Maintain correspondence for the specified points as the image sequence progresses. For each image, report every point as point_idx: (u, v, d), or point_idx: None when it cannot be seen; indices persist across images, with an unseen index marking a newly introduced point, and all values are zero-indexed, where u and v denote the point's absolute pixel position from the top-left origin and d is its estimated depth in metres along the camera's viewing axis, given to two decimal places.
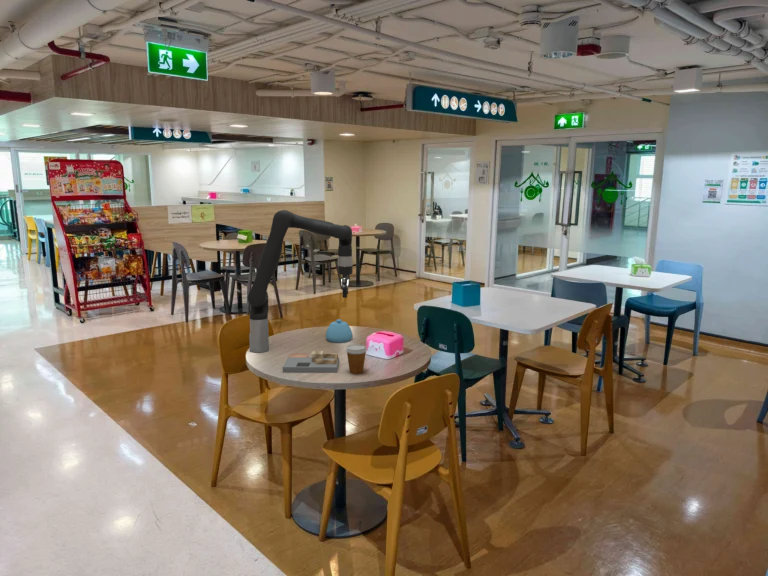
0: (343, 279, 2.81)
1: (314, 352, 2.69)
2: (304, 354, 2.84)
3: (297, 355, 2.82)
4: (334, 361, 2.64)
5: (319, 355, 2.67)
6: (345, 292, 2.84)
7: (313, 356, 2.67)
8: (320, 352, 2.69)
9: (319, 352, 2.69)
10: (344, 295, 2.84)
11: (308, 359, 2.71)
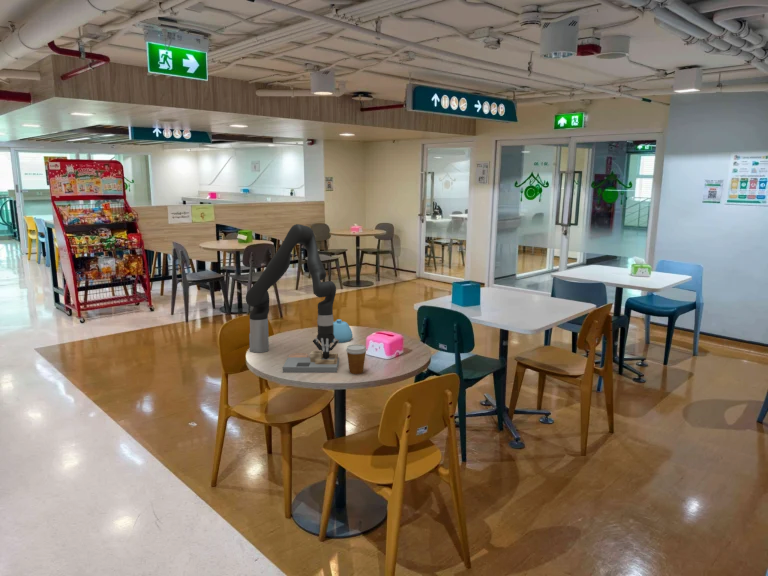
0: None
1: (313, 352, 2.69)
2: (304, 354, 2.84)
3: (297, 355, 2.82)
4: (334, 361, 2.64)
5: (318, 355, 2.67)
6: None
7: (312, 356, 2.67)
8: (319, 352, 2.69)
9: (318, 352, 2.69)
10: None
11: (308, 359, 2.71)
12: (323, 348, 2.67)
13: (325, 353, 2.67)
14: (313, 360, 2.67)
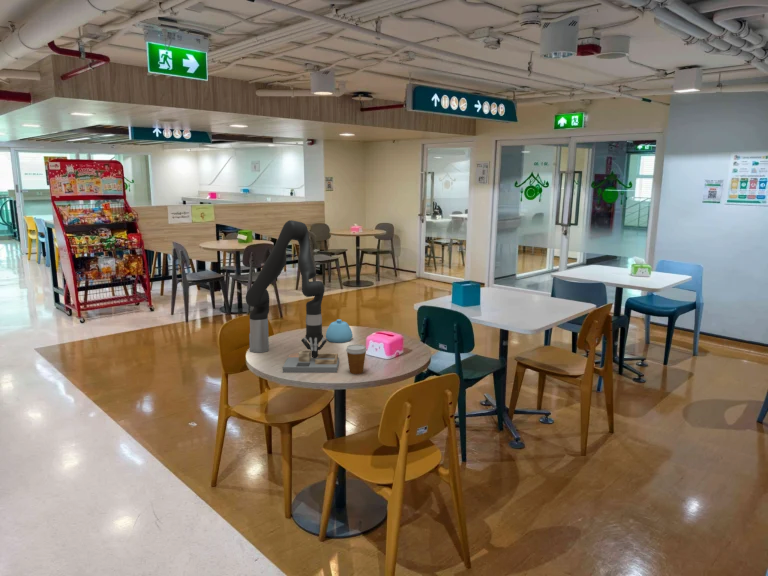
0: None
1: (301, 351, 2.70)
2: None
3: (297, 355, 2.82)
4: (334, 361, 2.64)
5: (306, 354, 2.67)
6: None
7: (300, 355, 2.67)
8: (307, 352, 2.70)
9: (306, 352, 2.70)
10: (312, 355, 2.70)
11: None
12: (311, 347, 2.68)
13: (313, 352, 2.68)
14: (301, 359, 2.68)
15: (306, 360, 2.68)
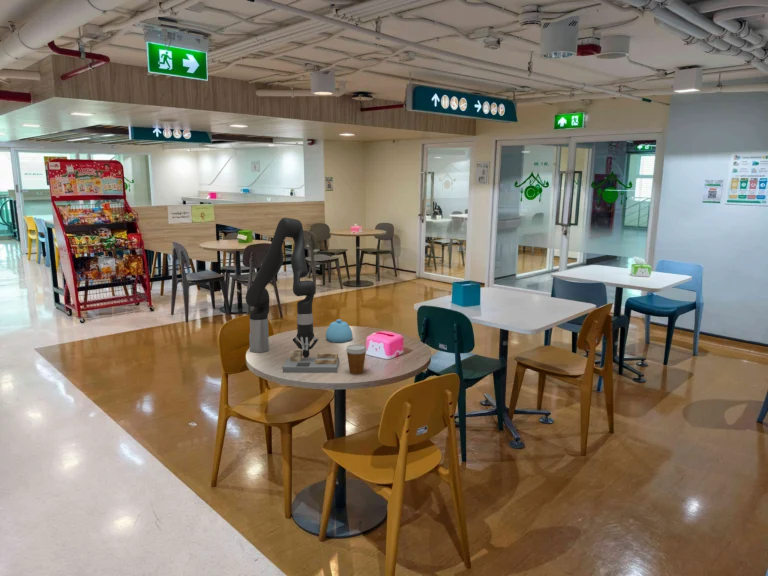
0: None
1: (293, 351, 2.70)
2: None
3: None
4: (334, 361, 2.64)
5: (297, 354, 2.67)
6: None
7: (291, 355, 2.68)
8: (299, 351, 2.70)
9: (298, 351, 2.70)
10: None
11: (308, 359, 2.71)
12: (303, 347, 2.68)
13: (305, 352, 2.69)
14: (292, 359, 2.68)
15: (298, 360, 2.68)
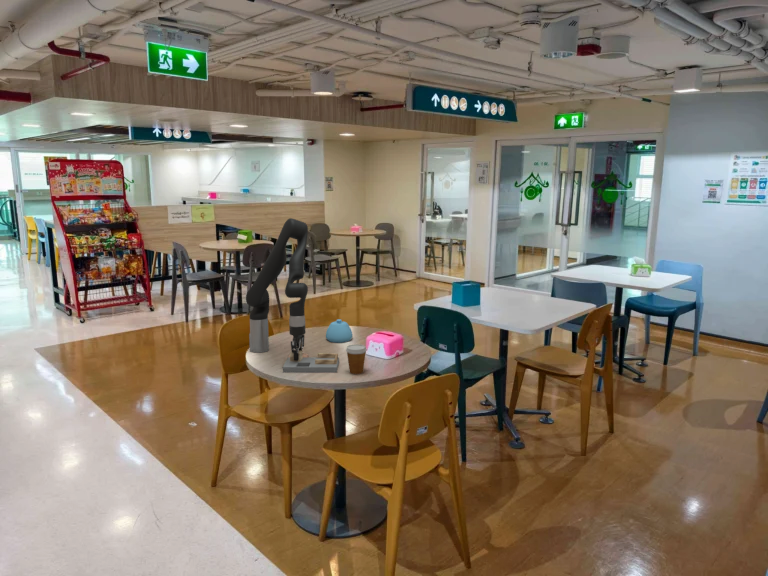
0: None
1: None
2: (304, 354, 2.84)
3: None
4: (334, 361, 2.64)
5: None
6: None
7: (291, 355, 2.68)
8: (299, 351, 2.70)
9: None
10: None
11: (308, 359, 2.71)
12: None
13: None
14: (292, 359, 2.68)
15: (298, 360, 2.68)
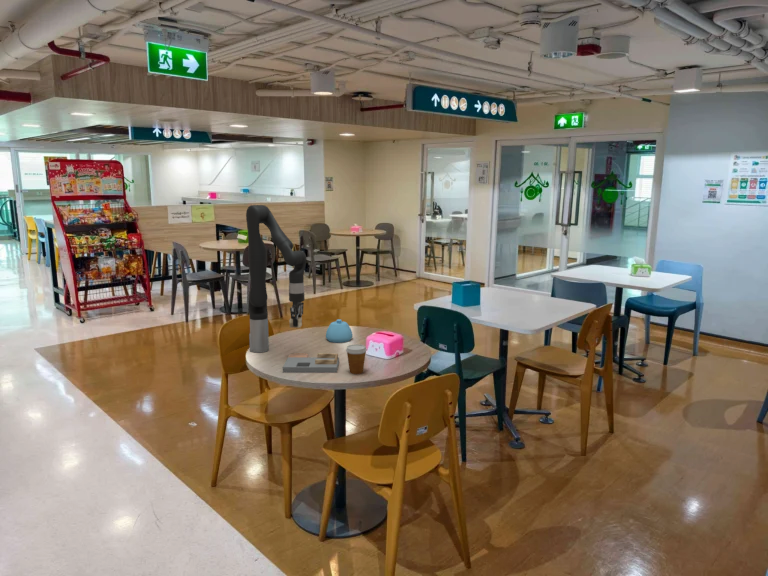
0: None
1: None
2: (304, 354, 2.84)
3: (297, 355, 2.82)
4: (334, 361, 2.64)
5: None
6: None
7: (291, 321, 2.76)
8: (298, 318, 2.78)
9: None
10: None
11: (308, 359, 2.71)
12: None
13: None
14: (292, 325, 2.76)
15: (297, 326, 2.76)
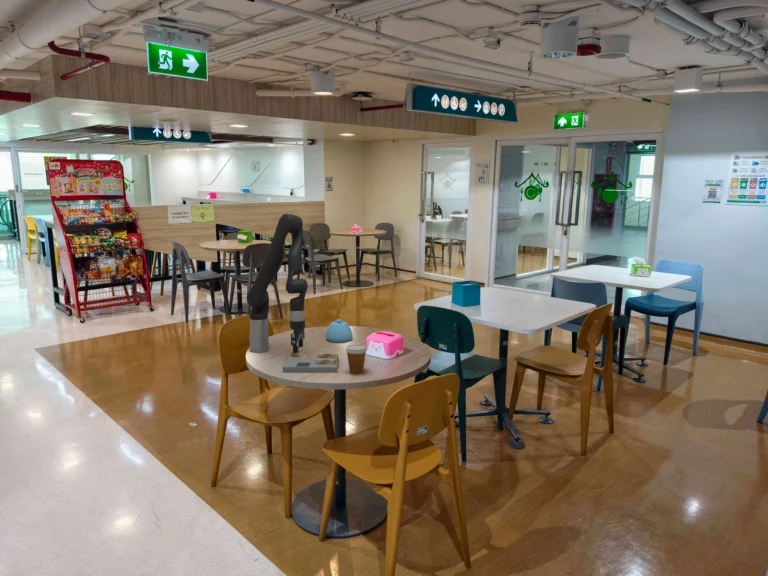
0: None
1: None
2: (304, 354, 2.84)
3: None
4: (334, 361, 2.64)
5: None
6: None
7: (292, 351, 2.79)
8: (299, 347, 2.81)
9: (298, 347, 2.81)
10: None
11: (308, 359, 2.71)
12: None
13: None
14: (293, 355, 2.79)
15: (298, 356, 2.79)
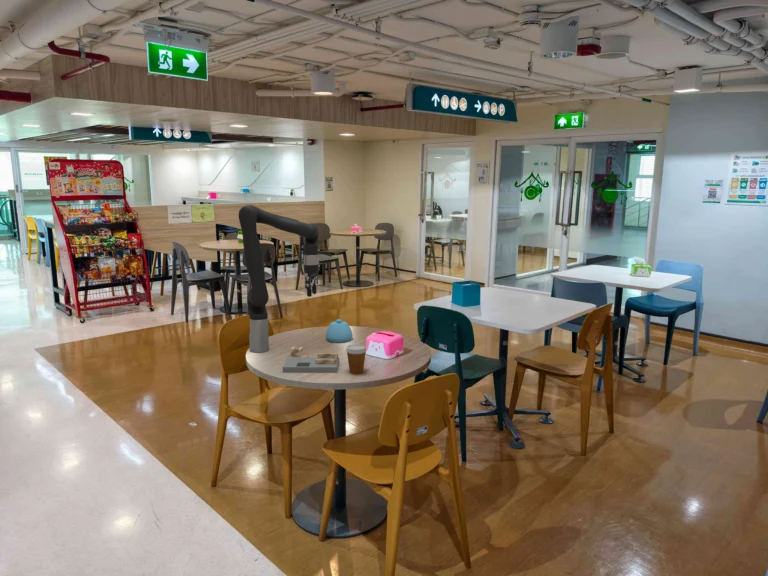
0: None
1: (294, 347, 2.81)
2: (304, 354, 2.84)
3: None
4: (334, 361, 2.64)
5: (298, 350, 2.78)
6: None
7: (292, 351, 2.79)
8: (299, 347, 2.81)
9: (298, 347, 2.81)
10: None
11: (308, 359, 2.71)
12: None
13: None
14: (293, 355, 2.79)
15: (298, 356, 2.79)
